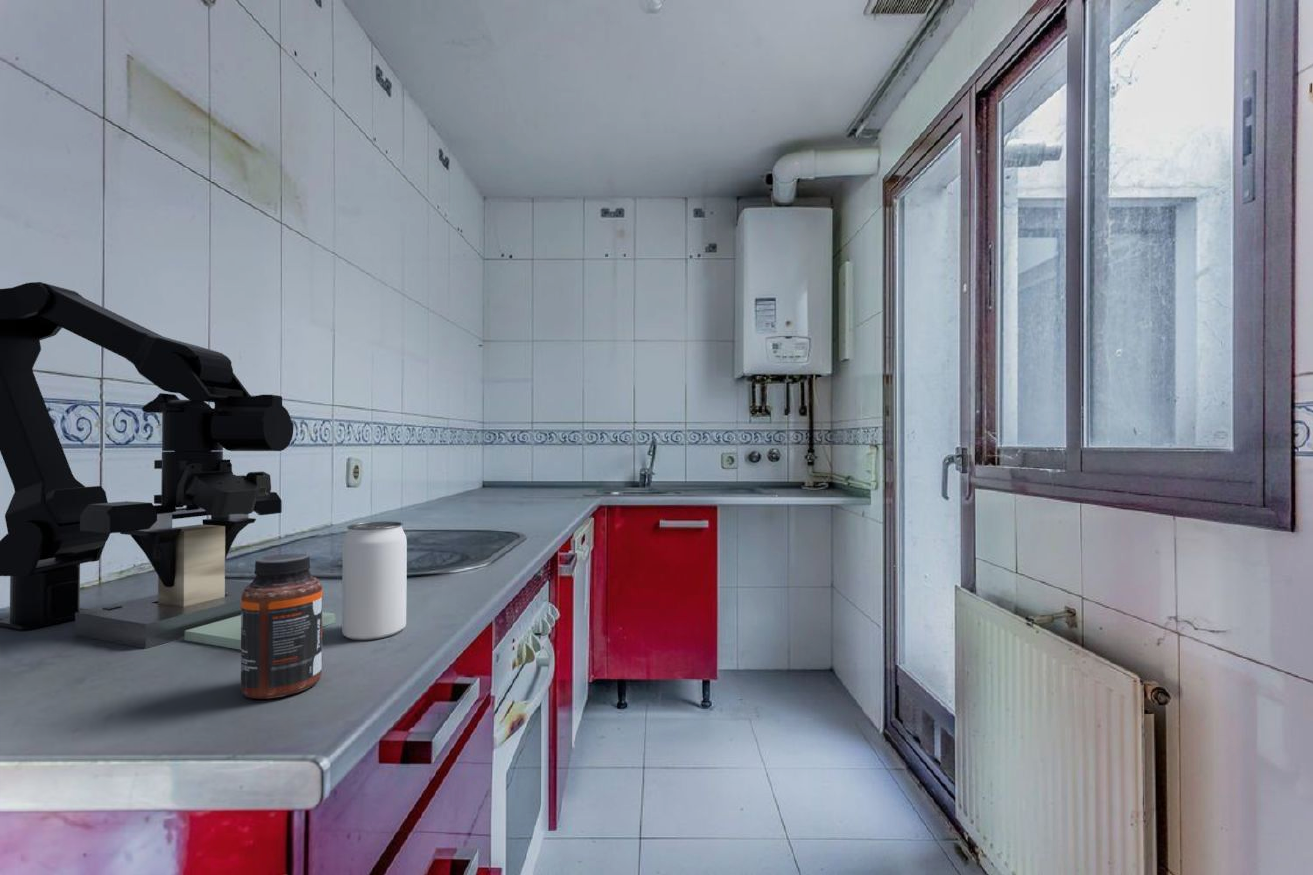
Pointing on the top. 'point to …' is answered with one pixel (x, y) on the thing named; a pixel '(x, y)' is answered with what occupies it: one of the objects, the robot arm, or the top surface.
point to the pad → (230, 632)
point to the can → (374, 580)
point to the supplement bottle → (281, 628)
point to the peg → (196, 567)
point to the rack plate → (156, 618)
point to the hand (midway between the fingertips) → (192, 581)
